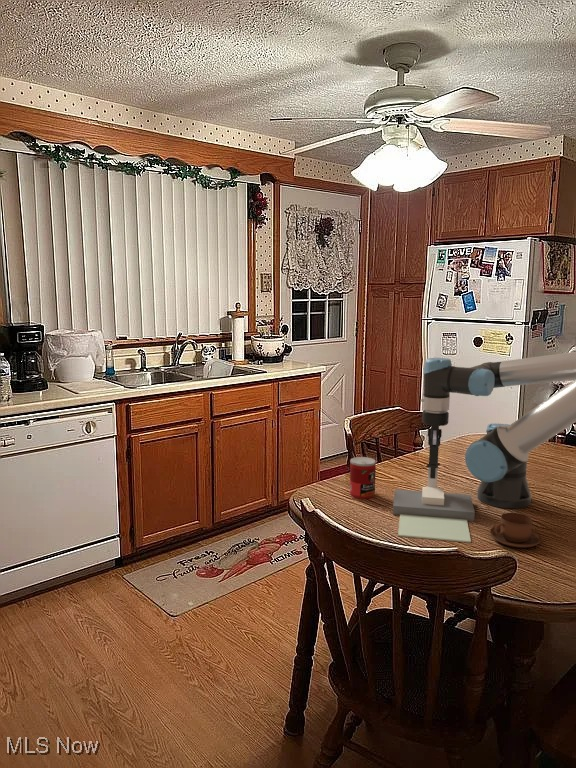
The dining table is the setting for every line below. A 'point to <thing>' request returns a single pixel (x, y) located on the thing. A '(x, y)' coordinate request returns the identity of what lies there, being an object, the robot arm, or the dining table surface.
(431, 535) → the sage mat
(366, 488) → the canned food
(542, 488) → the dining table surface
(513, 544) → the cup and saucer
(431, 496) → the cream flat block
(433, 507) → the plate
